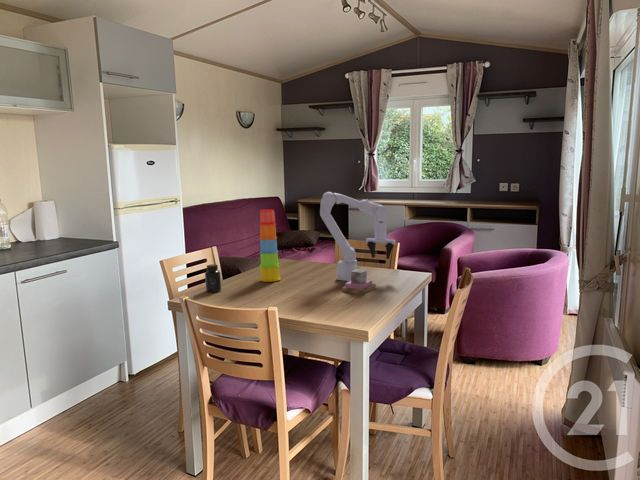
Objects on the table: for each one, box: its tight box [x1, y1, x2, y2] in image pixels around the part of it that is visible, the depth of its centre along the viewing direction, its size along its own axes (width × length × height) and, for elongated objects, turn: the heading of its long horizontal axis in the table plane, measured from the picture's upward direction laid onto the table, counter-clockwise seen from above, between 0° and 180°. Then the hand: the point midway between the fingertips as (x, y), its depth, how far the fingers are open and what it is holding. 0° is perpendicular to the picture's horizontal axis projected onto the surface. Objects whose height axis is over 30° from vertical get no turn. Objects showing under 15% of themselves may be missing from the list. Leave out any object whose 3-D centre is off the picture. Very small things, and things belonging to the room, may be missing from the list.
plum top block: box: [344, 279, 373, 290], centre depth 218 cm, size 8×10×2 cm
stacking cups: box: [258, 209, 282, 283], centre depth 237 cm, size 10×10×35 cm
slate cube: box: [351, 268, 368, 284], centre depth 217 cm, size 5×5×5 cm
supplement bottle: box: [204, 263, 222, 294], centre depth 221 cm, size 7×7×12 cm
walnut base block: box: [341, 283, 376, 295], centre depth 219 cm, size 10×12×2 cm
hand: (380, 257), depth 235 cm, fingers open, 7 cm apart
